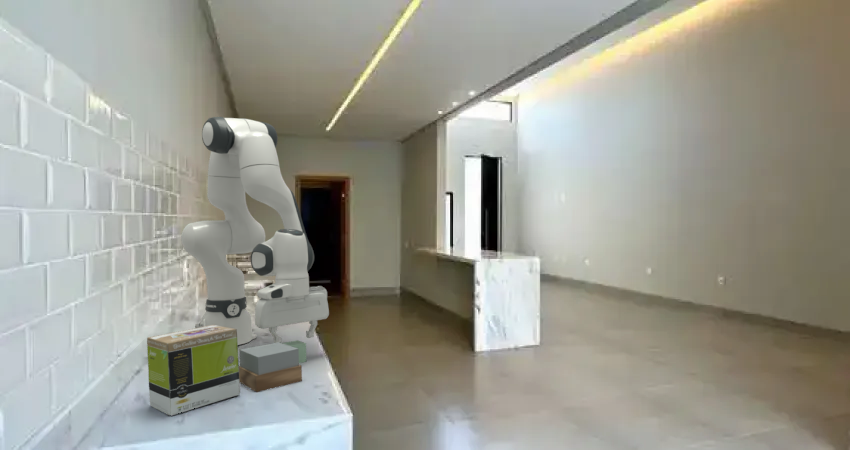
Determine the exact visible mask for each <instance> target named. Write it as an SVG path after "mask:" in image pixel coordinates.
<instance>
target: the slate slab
mask: <svg viewBox="0 0 850 450" xmlns="http://www.w3.org/2000/svg"><path fill="white" fill-rule="evenodd" d="M282 343H283V342H281V343H279V342H277V343H274V342H273V343H267V344H262V345H257V346H252V347H247V348H241V349H239V366H240V367H242V368H244V369H246V370H248V371H251V372H253V373H255V374H257V375H262V374H266V373H270V372H274V371H278V370H283V369H287V368H291V367H295V366H299V365H300V363H299V349H298V348H295V347H292V346H289V345H286V344H282Z"/></svg>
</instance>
